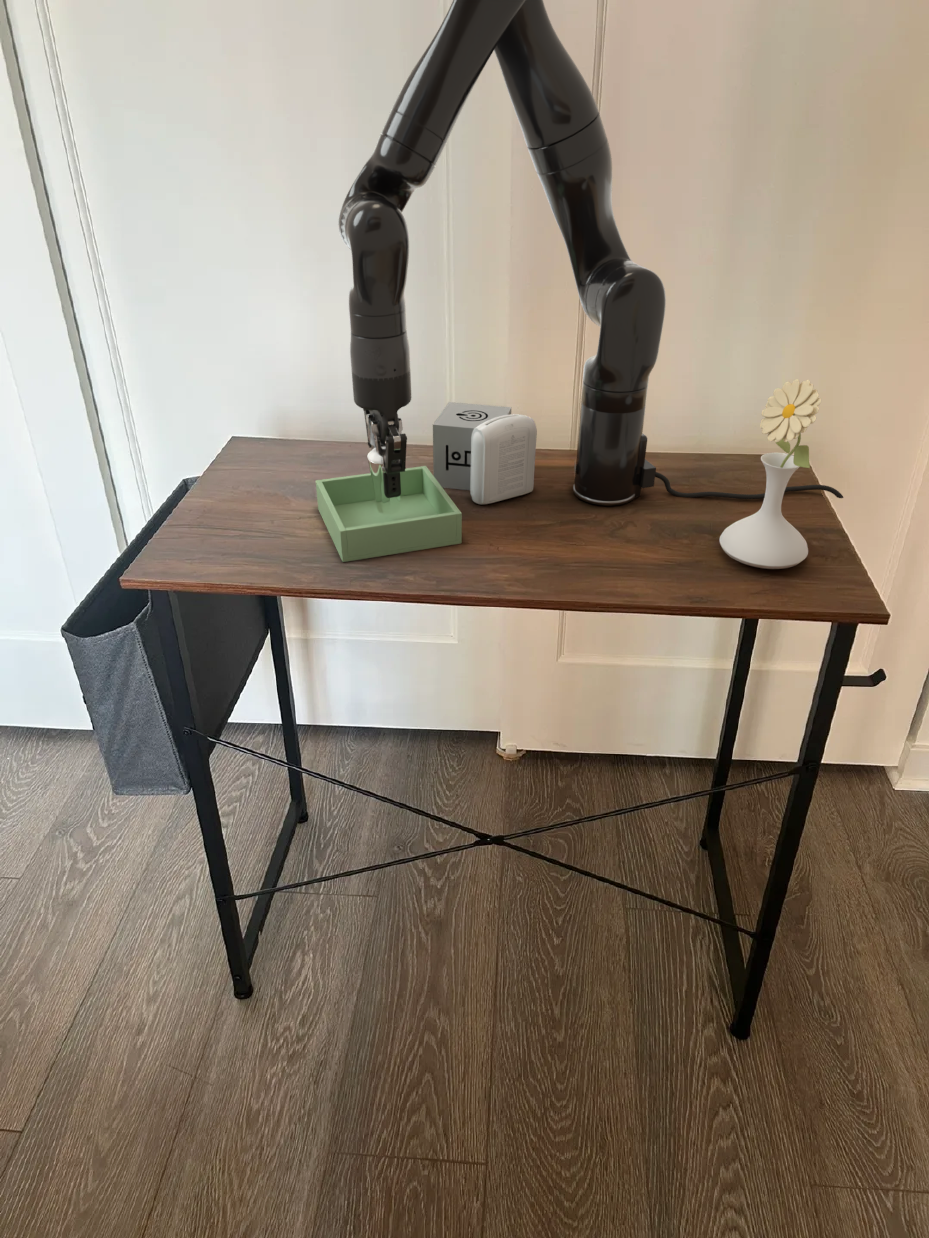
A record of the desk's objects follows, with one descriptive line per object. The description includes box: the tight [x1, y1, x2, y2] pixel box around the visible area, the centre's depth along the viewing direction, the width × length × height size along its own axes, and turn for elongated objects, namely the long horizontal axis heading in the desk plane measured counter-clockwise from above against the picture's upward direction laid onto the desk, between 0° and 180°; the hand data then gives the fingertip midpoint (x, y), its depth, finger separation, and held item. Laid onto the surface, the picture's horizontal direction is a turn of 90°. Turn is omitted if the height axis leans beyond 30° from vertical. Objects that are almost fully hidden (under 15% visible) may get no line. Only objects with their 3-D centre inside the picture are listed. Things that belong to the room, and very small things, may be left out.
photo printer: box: [469, 413, 538, 506], centre depth 132 cm, size 10×4×12 cm, turn 123°
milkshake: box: [366, 446, 400, 515], centre depth 123 cm, size 5×5×10 cm
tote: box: [315, 465, 463, 563], centre depth 126 cm, size 17×17×5 cm
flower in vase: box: [719, 378, 822, 570], centre depth 113 cm, size 13×11×25 cm
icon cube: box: [432, 401, 512, 491], centre depth 138 cm, size 10×10×10 cm
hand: (388, 488), depth 124 cm, fingers closed on milkshake, 4 cm apart
